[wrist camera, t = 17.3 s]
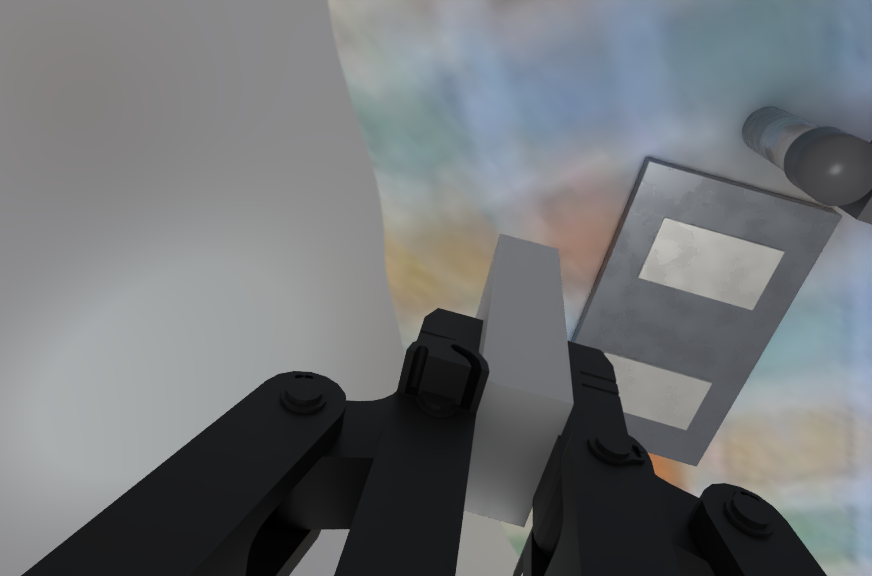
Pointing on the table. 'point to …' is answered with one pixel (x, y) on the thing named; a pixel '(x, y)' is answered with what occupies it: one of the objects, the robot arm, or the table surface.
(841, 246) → the table surface
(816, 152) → the cable arm
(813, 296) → the table surface
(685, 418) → the label panel
